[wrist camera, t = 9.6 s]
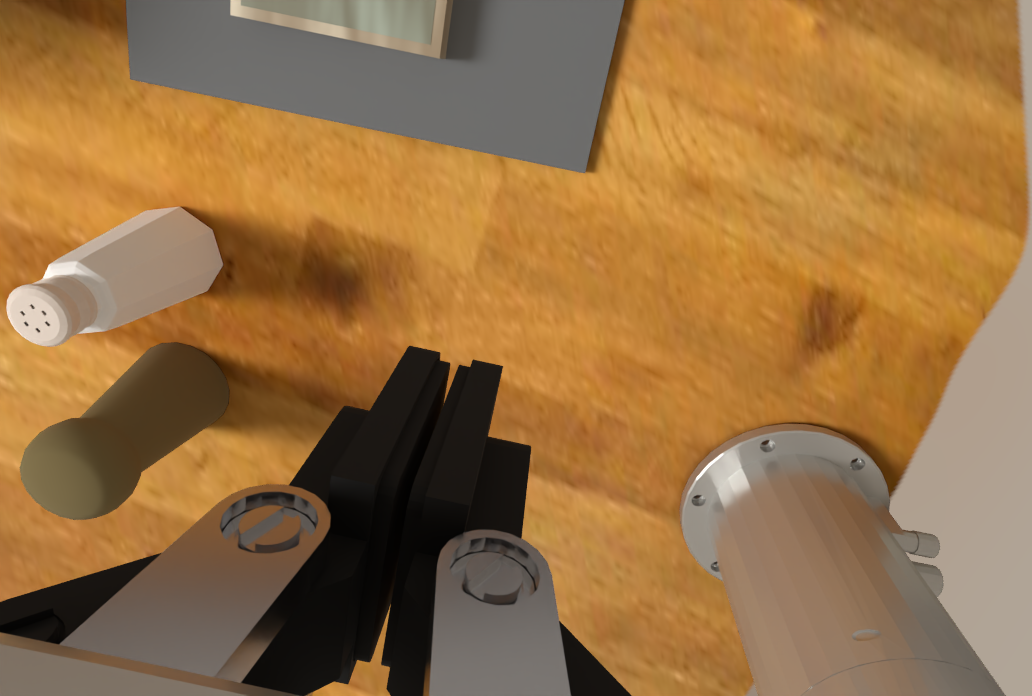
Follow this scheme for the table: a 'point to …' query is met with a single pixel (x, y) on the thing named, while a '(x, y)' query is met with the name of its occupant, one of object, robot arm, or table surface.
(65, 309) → the salt shaker
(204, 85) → the rubber mat
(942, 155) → the table surface
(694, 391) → the table surface
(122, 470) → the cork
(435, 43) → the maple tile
